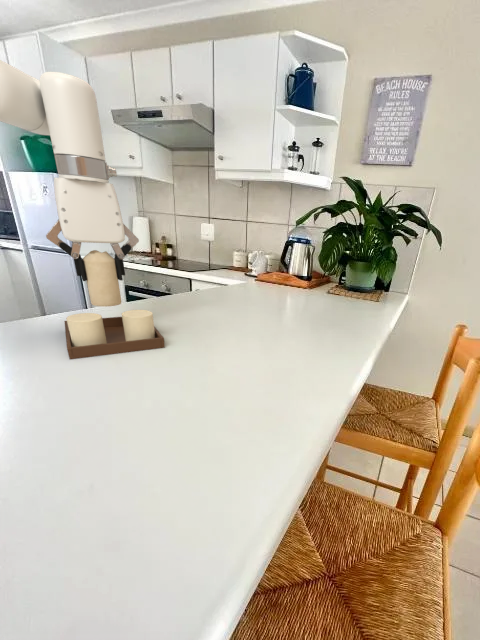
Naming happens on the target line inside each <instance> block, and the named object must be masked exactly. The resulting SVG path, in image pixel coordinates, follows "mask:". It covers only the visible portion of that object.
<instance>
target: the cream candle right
mask: <svg viewBox="0 0 480 640" xmlns="http://www.w3.org/2000/svg"><path fill="white" fill-rule="evenodd" d="M121 317H122V320H123V326H124V333H125V339H126V341H133V340H142V339H152V338H155V330H154V326H155V323H154V322H155V321H154V313H153V312H152V311H150V310H146V309H130V310H126V311H123V312H122V313H121Z"/></svg>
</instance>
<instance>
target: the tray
mask: <svg viewBox="0 0 480 640" xmlns="http://www.w3.org/2000/svg"><path fill="white" fill-rule="evenodd" d="M102 320H103V325H104V331H105V336H106V341H107V343H105V344H96V345H87V346H78V347H73V344H72V340H71V336H70V332H69V328H68V324H67V320H64V322H63V323H64V331H65V342H66V343H65V344H66V351H67V355H68V358H69V360H78V359H86V358H93V357H94V358H95V357H102V356H103V357H104V356H109V355H118V354H119V355H120V354H126V353H127V354H128V353H132V352H133V353H134V352H141V351H150V350H157V349H166V345H165V344H166V343H165V337H164V336H163V335H162V334H161V332H160V331H159V330H158V329H157V327H156V326H155V325H154V330H155V338H152V339H142V340H133V341H126V339H125V333H124V326H123V320H122V316H113V317H111V316H110V317H102Z"/></svg>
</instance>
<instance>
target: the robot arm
mask: <svg viewBox="0 0 480 640" xmlns="http://www.w3.org/2000/svg"><path fill="white" fill-rule="evenodd" d="M0 123H3V124H7V125H10V126H12V127H16V128H19V129H21V130H24V131H27V132H30V133H33V134H37V135H40V136H50V141H51V146H52V150H53V155H54V160H55V165H56V170H57V175H58V177H54V178H53V187H54V198H55V199H54V200H55V205H56V211H57V216H58V217H57V218H58V219H57V220H56V222H54V224H53V225H52V226H51V228H50V229H49V230H48V232H47V233H46V234H45V237H46V240H48V241H49V242H51V243H52V244H53V245H55V246H57V247H58V248H60V249H61V250H62V251H64V252H65V253H66V254H67V255H69V256H70V257H71V258H72V259H73V263H74V267H75V272H76V277H81V280H82V282H87V278H86V273H85V268H84V263H83V258H82V255H81V254H80V252H81V247H82V243H87V244H88V243H89V244H92V243H93V244H109V245H110V247H111V249H112V251H113V252H114V253H115V254H114V257H113V258H114V259H115V263H116V269H117V276H118V281H123V280H124V279H123V276H126V270H125V264H124V259H125V257H126V256H127V255H128V254H129V253H130V251H132V249H133V248H134V247H136V245H137V244H138V243H139V242H140V239H139V238H138V236H137V235H135V233H133V232H132V230H131V229H129V228H128V226H127V225H126V224H125V223H124V222H123V217H122V211H121V207H120V203H119V199H118V196H117V192H116V189H115V186H114V183H110V182H109V181H110V178H113V177H114V178H117V176H118V175H117V174H118V173H117V168H116V167H111V166H109V164H108V163H107V162H106V154H105V147H104V141H103V135H102V127H101V121H100V113H99V106H98V102H97V96H96V93H95V89H94V88H93V87H92V86H91V84H89V83H88V82H87V81H86V80H84V79H82V78H80V77H78V76H75V75H72V74H68V73H65V72H61V71H60V72H59V71H45V72H42V73H41V75H40V77H39V79H38V78H36V77H33V76H32V75H29V74H27V73H26V72H25V71H22V70H21V69H18V68H16V67H15V66H13V65H11V64H9V63H7V62H5V61H3V60H2V59H0ZM60 233H62V236H63V238H64V239H66V240H67V241H69V242H71V246H70V245H69V244H67V242H65V241H63V240H62V239H61V238H59V235H60ZM126 237H127V238H128V240H127V241H126ZM124 241H126V242H125V243H123V242H124ZM120 243H123V245H122V246H121V245H120Z"/></svg>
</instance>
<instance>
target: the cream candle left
mask: <svg viewBox="0 0 480 640" xmlns="http://www.w3.org/2000/svg"><path fill="white" fill-rule="evenodd" d="M102 318H103V316H102V315H101V314H99V313H95V312H80V313H75V314H71V315H68V316H67V317H66V319H65V320H66V321H67V324H68V328H69V332H70V336H71V340H72V344H73V347H78V346H87V345H96V344H105V343H107V341H106V336H105V331H104V325H103V320H102Z"/></svg>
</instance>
